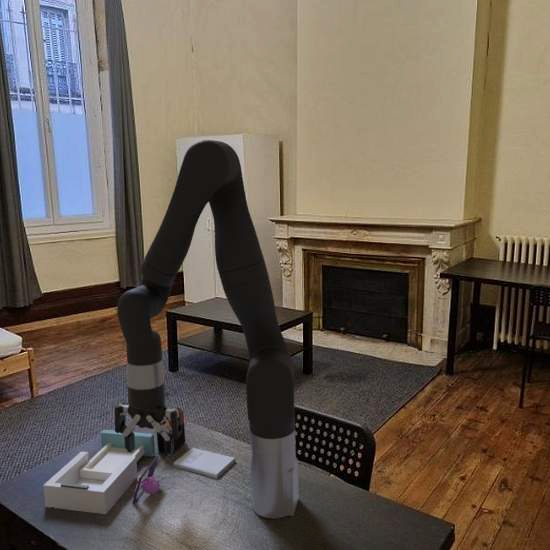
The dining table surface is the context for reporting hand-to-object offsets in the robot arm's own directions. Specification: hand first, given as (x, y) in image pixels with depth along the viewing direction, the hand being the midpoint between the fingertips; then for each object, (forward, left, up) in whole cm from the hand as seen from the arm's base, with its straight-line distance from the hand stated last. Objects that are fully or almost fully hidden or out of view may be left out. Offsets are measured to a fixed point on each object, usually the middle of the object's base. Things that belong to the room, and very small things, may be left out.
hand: (149, 452), depth 111 cm
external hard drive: (-7, -14, -11) cm, 19 cm away
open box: (+14, +1, -10) cm, 17 cm away
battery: (+4, -20, -10) cm, 23 cm away
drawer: (+14, -9, -10) cm, 19 cm away
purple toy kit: (+1, -1, -10) cm, 10 cm away
